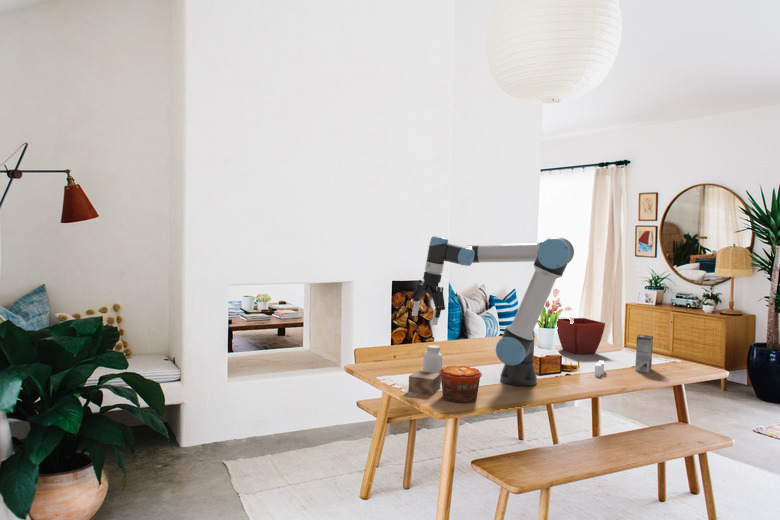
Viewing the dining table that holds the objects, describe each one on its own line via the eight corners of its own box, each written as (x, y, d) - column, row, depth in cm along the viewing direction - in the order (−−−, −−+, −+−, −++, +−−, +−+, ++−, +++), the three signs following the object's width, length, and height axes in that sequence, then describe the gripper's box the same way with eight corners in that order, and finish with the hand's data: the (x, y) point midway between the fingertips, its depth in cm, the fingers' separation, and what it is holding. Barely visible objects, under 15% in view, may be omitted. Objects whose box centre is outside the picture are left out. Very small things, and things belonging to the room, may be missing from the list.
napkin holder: (599, 370, 265) (600, 358, 265) (619, 375, 255) (620, 363, 255) (576, 373, 258) (577, 360, 258) (596, 379, 248) (597, 366, 248)
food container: (430, 395, 215) (431, 367, 214) (462, 390, 223) (463, 363, 223) (456, 407, 201) (457, 377, 201) (489, 401, 210) (490, 372, 209)
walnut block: (440, 388, 225) (440, 373, 224) (432, 394, 215) (433, 379, 215) (416, 385, 228) (417, 370, 228) (408, 391, 219) (409, 376, 219)
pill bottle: (440, 385, 230) (441, 348, 229) (421, 383, 231) (422, 347, 230) (442, 380, 237) (443, 345, 237) (423, 378, 239) (425, 343, 238)
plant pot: (553, 348, 311) (554, 318, 310) (582, 347, 316) (583, 317, 316) (574, 355, 293) (575, 324, 292) (604, 354, 298) (606, 323, 297)
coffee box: (637, 367, 272) (638, 334, 271) (651, 369, 268) (653, 335, 268) (634, 370, 264) (636, 336, 263) (649, 372, 261) (651, 338, 260)
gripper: (408, 265, 247) (400, 312, 249) (446, 278, 227) (436, 328, 230) (421, 266, 251) (413, 312, 254) (459, 279, 232) (449, 328, 234)
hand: (424, 320), depth 242 cm, fingers open, 13 cm apart
